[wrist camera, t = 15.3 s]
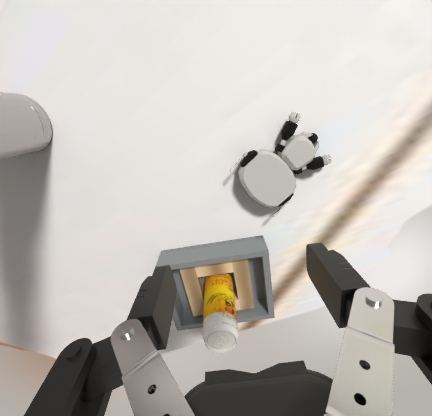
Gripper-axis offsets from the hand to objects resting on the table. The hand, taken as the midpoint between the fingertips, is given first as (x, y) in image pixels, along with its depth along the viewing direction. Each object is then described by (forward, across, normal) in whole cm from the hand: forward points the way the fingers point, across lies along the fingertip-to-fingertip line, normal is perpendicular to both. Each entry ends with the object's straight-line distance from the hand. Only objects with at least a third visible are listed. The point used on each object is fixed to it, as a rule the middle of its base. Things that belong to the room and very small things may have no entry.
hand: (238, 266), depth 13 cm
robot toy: (+30, -10, +2) cm, 32 cm away
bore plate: (+29, +5, +26) cm, 39 cm away
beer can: (+29, +5, +26) cm, 39 cm away
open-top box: (+30, +5, +26) cm, 40 cm away
